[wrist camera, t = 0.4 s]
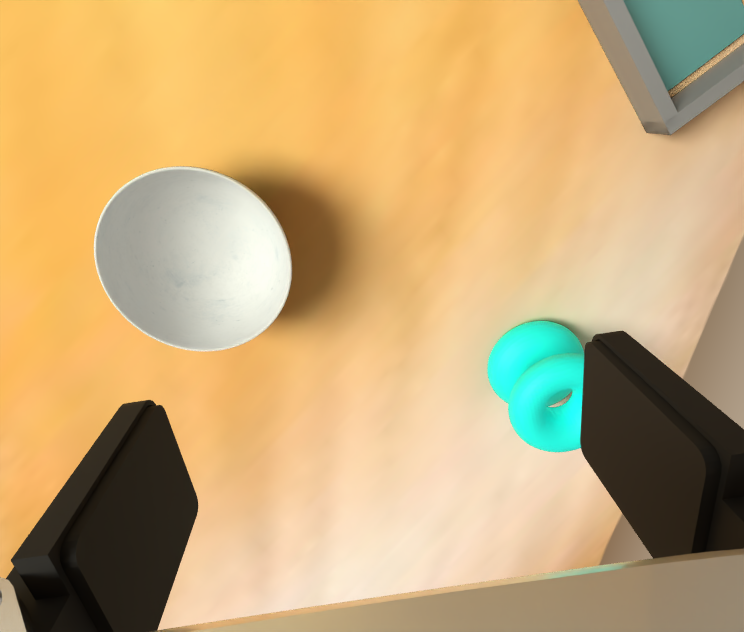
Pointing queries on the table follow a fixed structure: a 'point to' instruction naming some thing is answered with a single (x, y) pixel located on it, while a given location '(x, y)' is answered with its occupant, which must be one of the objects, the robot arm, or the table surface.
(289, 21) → the table surface
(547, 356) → the donuts
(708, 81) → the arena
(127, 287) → the chinaware
